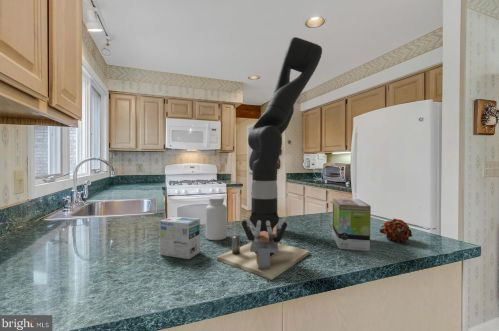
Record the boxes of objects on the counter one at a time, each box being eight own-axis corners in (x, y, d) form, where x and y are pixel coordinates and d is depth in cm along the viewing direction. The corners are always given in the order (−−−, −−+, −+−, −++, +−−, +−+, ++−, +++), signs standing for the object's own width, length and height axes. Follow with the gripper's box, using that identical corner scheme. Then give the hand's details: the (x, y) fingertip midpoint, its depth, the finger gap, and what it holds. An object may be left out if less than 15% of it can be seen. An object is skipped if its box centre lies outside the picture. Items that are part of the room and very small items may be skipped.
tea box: (371, 251, 77) (371, 205, 77) (337, 249, 79) (338, 204, 79) (359, 237, 92) (359, 198, 92) (331, 235, 94) (331, 197, 94)
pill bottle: (230, 235, 94) (230, 197, 93) (219, 242, 86) (219, 200, 86) (213, 233, 97) (213, 195, 97) (201, 239, 90) (201, 198, 89)
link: (258, 229, 80) (258, 221, 79) (276, 229, 79) (276, 222, 77) (251, 263, 66) (250, 254, 65) (273, 264, 65) (273, 255, 64)
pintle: (230, 253, 73) (230, 236, 73) (235, 251, 75) (235, 234, 75) (236, 255, 72) (236, 238, 71) (241, 252, 73) (241, 236, 73)
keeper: (252, 260, 68) (252, 241, 68) (277, 261, 67) (277, 242, 67) (250, 268, 62) (250, 247, 62) (277, 270, 62) (277, 249, 62)
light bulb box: (201, 251, 77) (201, 218, 77) (189, 260, 71) (189, 223, 71) (172, 248, 81) (172, 215, 80) (159, 255, 74) (158, 220, 74)
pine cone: (406, 251, 81) (384, 244, 93) (424, 236, 82) (401, 231, 94) (390, 230, 82) (370, 226, 94) (408, 215, 83) (387, 213, 95)
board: (216, 260, 71) (216, 256, 71) (259, 241, 87) (259, 238, 87) (271, 279, 59) (271, 275, 59) (309, 254, 75) (309, 250, 75)
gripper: (289, 194, 73) (289, 252, 73) (243, 193, 75) (243, 249, 76) (288, 198, 66) (288, 262, 66) (237, 197, 68) (238, 258, 68)
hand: (264, 254), depth 71 cm, fingers closed on link, 3 cm apart
